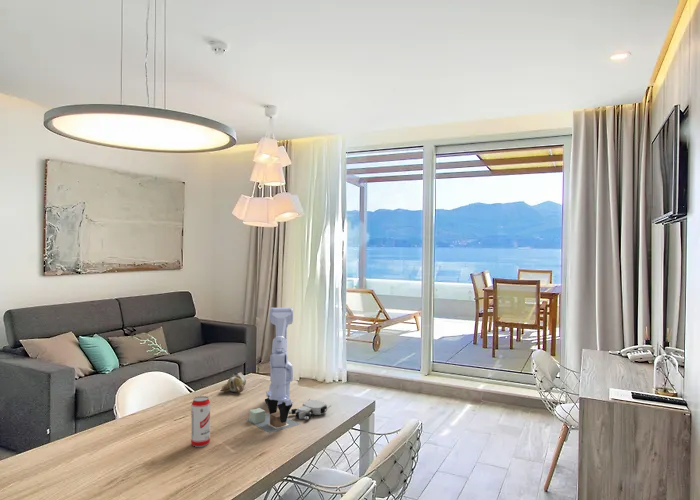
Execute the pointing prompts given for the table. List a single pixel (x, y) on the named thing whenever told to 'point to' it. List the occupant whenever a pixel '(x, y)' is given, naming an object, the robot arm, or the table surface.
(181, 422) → the table surface
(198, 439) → the beer can
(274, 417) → the walnut block
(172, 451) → the table surface
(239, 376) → the ceramic sculpture
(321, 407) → the robot toy
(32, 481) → the table surface
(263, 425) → the board
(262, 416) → the sage block
